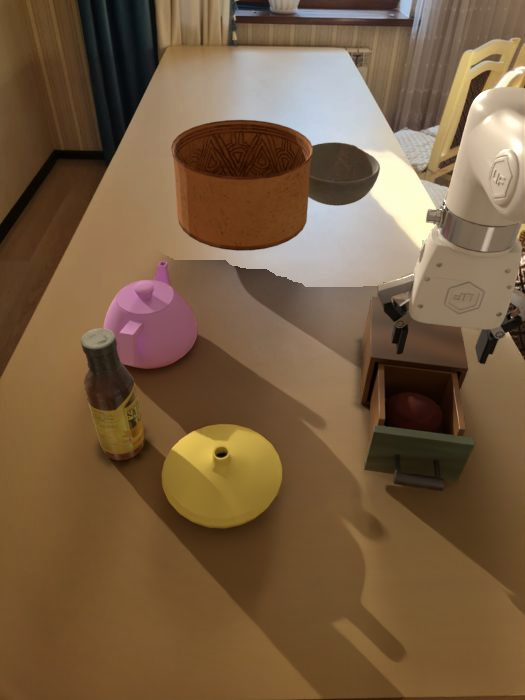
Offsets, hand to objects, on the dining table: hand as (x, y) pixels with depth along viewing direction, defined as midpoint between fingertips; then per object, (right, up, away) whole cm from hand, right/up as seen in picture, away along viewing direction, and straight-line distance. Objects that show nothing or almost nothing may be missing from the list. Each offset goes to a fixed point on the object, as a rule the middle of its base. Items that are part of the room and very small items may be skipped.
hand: (438, 351), depth 66 cm
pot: (-26, +25, +54) cm, 65 cm away
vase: (-27, -18, +7) cm, 33 cm away
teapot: (-40, +1, +28) cm, 49 cm away
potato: (-1, -12, +12) cm, 17 cm away
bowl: (-4, +37, +67) cm, 77 cm away
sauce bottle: (-41, -13, +12) cm, 45 cm away
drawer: (-1, -14, +11) cm, 18 cm away
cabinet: (+2, -4, +23) cm, 23 cm away
